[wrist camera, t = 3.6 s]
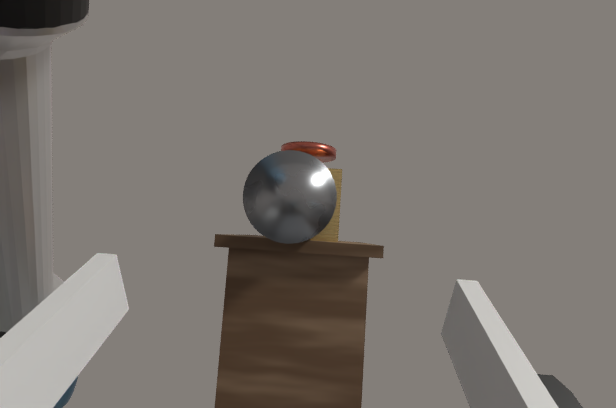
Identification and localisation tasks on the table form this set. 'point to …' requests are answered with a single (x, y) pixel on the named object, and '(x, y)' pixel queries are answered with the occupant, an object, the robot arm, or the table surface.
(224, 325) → the stand
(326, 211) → the valve pipe
